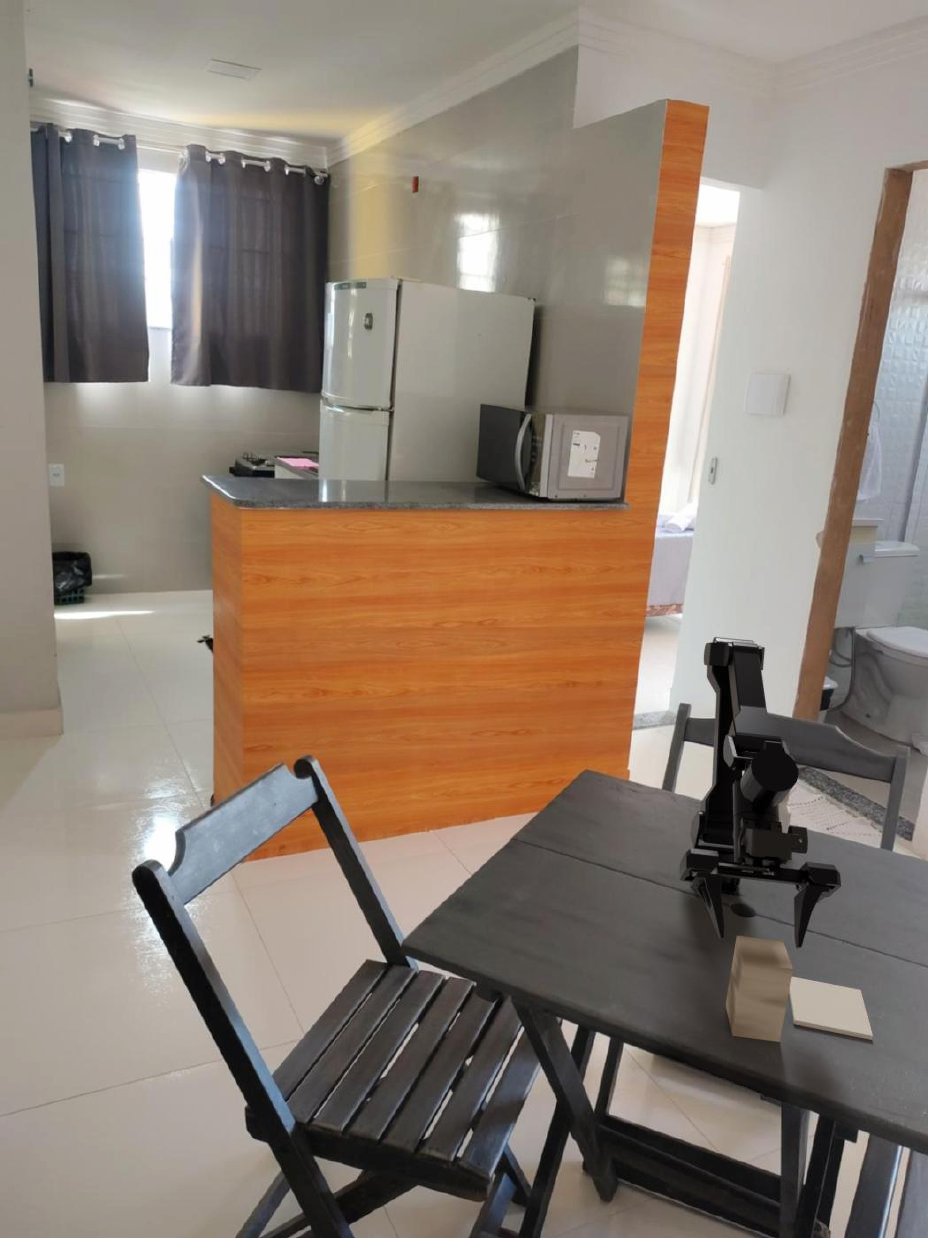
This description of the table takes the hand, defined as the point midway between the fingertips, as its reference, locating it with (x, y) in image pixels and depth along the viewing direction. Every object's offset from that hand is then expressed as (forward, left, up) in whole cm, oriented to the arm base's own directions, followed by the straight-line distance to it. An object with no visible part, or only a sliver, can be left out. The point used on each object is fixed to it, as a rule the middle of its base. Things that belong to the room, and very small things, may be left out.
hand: (760, 943), depth 113 cm
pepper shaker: (+6, +49, -10) cm, 50 cm away
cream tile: (+10, +4, -10) cm, 14 cm away
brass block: (0, -2, -10) cm, 10 cm away
